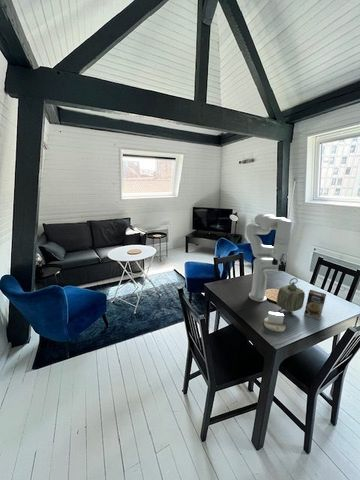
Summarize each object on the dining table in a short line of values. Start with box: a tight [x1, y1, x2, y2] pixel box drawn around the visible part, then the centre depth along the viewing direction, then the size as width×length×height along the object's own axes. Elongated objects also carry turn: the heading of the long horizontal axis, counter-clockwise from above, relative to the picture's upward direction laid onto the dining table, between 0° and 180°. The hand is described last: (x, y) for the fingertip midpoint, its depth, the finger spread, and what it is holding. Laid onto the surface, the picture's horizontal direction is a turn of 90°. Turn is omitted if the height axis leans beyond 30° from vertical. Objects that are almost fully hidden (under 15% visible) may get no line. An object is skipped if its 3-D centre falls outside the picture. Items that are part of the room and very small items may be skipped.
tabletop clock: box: [276, 277, 306, 316], centre depth 134 cm, size 14×9×25 cm, turn 113°
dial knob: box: [267, 311, 286, 325], centre depth 124 cm, size 10×2×6 cm, turn 79°
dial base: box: [263, 316, 287, 333], centre depth 125 cm, size 12×12×2 cm
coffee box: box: [303, 289, 327, 321], centre depth 133 cm, size 9×6×16 cm
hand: (277, 267), depth 126 cm, fingers open, 9 cm apart
